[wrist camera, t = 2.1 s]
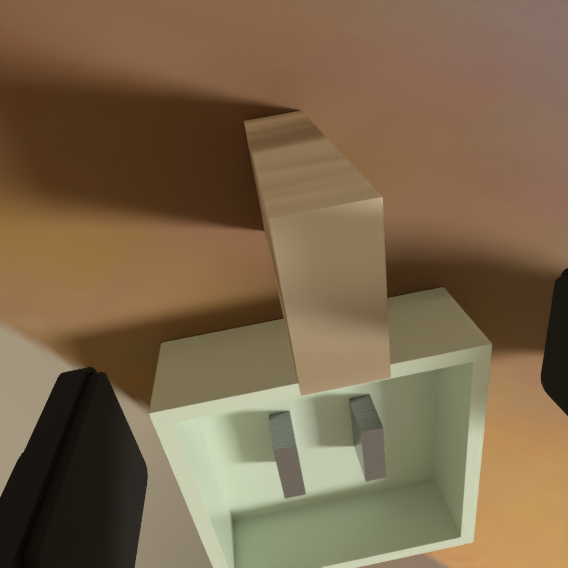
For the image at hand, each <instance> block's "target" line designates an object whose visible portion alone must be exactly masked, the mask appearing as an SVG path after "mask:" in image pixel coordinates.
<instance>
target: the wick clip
mask: <svg viewBox="0 0 568 568" xmlns="http://www.w3.org/2000/svg"><path fill="white" fill-rule="evenodd" d="M349 404H350V413H351V422H352V431H353V440H354V447H355V451H356V454H357V457H358V460H359V463H360V466H361V469H362V472H363V475H364V479H365V482H367V481H372V480H376V479H381V478H386V462H385V446H384V430H383V426H382V423H381V421H380V418H379V416H378V413H377V411H376V408H375V406H374V404H373V401H372V399H371V396H370V394H368V395H363V396H358V397H353V398H349ZM269 422H270V430H271V437H272V445H273V452H274V456H275V460H276V464H277V468H278V472H279V477H280V481H281V485H282V489H283V493H284V497H285V499H286V498H291V497H296V496H300V495H305V494H306V492H305V486H304V481H303V475H302V470H301V465H300V459H299V454H298V449H297V444H296V439H295V435H294V430H293V425H292V420H291V415H290V411H285V412H280V413H275V414H270V415H269Z"/></svg>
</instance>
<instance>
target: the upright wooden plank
mask: <svg viewBox="0 0 568 568" xmlns="http://www.w3.org/2000/svg"><path fill="white" fill-rule="evenodd" d="M244 125H245V130H246V136H247V141H248V146H249V151H250V157H251V162H252V167H253V173H254V178H255V183H256V188H257V194H258V199H259V204H260V210H261V215H262V220H263V226H264V231H265V235H266V240H267V244H268V249H269V253H270V258H271V262H272V267H273V272H274V276H275V281H276V285H277V290H278V294H279V299H280V303H281V308H282V312H283V317H284V321H285V326H286V330H287V335H288V339H289V344H290V348H291V353H292V357H293V362H294V366H295V371H296V375H297V380H298V384H299V389H300V393H301V396H304V395H308V394H313V393H318V392H323V391H328V390H333V389H338V388H343V387H348V386H353V385H358V384H363V383H367V382H372V381H377V380H382V379H387V378H391V368H390V347H389V325H388V303H387V281H386V260H385V238H384V216H383V197H382V196H381V195H380V194H379V193H378V192H377V190H376V189H375V188H374V187H373V186H372V185H371V184H370V183H369V182H368V181H367V180H366V179H365V178H364V177H363V176H362V175H361V174H360V172H359V171H358V170H357V169H356V168H355V167H354V166H353V165H352V164H351V163H350V162H349V161H348V160H347V159H346V158H345V157H344V156H343V155H342V153H341V152H340V151H339V150H338V149H337V148H336V147H335V146H334V145H333V144H332V143H331V142H330V141H329V140H328V139H327V138H326V137H325V135H324V134H323V133H322V132H321V131H320V130H319V129H318V128H317V127H316V126H315V125H314V124H313V123H312V122H311V121H310V120H309V119H308V118H307V116H306V115H305V114H304V113H303V112H302V111H296V112H290V113H285V114H279V115H274V116H268V117H263V118H257V119H252V120H247V121H244Z"/></svg>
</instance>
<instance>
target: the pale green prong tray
mask: <svg viewBox="0 0 568 568" xmlns="http://www.w3.org/2000/svg"><path fill="white" fill-rule="evenodd" d="M387 303H388V325H389V347H390V368H391V378H387V379H382V380H377V381H372V382H367V383H363V384H358V385H353V386H348V387H343V388H338V389H333V390H328V391H323V392H318V393H313V394H308V395H304V396H301V393H300V389H299V384H298V380H297V375H296V371H295V366H294V362H293V357H292V353H291V348H290V344H289V339H288V335H287V330H286V326H285V321H284V319H279V320H274V321H269V322H264V323H259V324H254V325H249V326H244V327H239V328H234V329H228V330H223V331H218V332H213V333H208V334H203V335H198V336H193V337H188V338H183V339H178V340H173V341H168V342H163V343H161V347H160V353H159V358H158V364H157V370H156V375H155V381H154V386H153V392H152V398H151V403H150V409H149V416H150V418H151V420H152V423H153V425H154V428H155V430H156V432H157V435H158V437H159V439H160V442H161V444H162V447H163V449H164V451H165V454H166V456H167V459H168V461H169V463H170V466H171V468H172V470H173V473H174V475H175V478H176V480H177V483H178V485H179V487H180V490H181V492H182V494H183V497H184V499H185V502H186V504H187V506H188V509H189V511H190V514H191V516H192V518H193V521H194V523H195V525H196V528H197V530H198V533H199V535H200V537H201V540H202V542H203V545H204V547H205V549H206V552H207V554H208V557H209V559H210V561H211V564H212V566H213V568H357V567H361V566H366V565H370V564H374V563H380V562H384V561H389V560H394V559H398V558H403V557H407V556H412V555H417V554H421V553H426V552H431V551H435V550H440V549H445V548H449V547H454V546H458V545H463V544H468V543H472V542H473V540H474V530H475V519H476V509H477V499H478V488H479V478H480V467H481V457H482V447H483V436H484V426H485V415H486V405H487V395H488V384H489V374H490V363H491V353H492V343H491V342H490V341H489V339H488V338H487V337H486V336H485V335H484V334H483V332H482V331H481V330H480V329H479V328H478V327H477V325H476V324H475V323H474V322H473V321H472V320H471V318H470V317H469V316H468V315H467V314H466V313H465V311H464V310H463V309H462V308H461V307H460V306H459V304H458V303H457V302H456V301H455V300H454V299H453V297H452V296H451V295H450V294H449V293H448V291H447V290H446V289H445V288H444V287H441V288H436V289H431V290H425V291H420V292H415V293H410V294H405V295H400V296H395V297H390V298H387ZM368 394H370V396H371V399H372V401H373V404H374V406H375V408H376V411H377V413H378V416H379V418H380V421H381V423H382V426H383V430H384V446H385V462H386V478H381V479H376V480H372V481H367V482H365V479H364V475H363V472H362V469H361V466H360V463H359V460H358V457H357V454H356V451H355V447H354V440H353V431H352V422H351V413H350V404H349V398H353V397H358V396H363V395H368ZM285 411H290V415H291V420H292V425H293V430H294V435H295V439H296V444H297V449H298V454H299V459H300V465H301V470H302V475H303V481H304V486H305V492H306V494H305V495H300V496H296V497H291V498H286V499H285V497H284V493H283V489H282V485H281V481H280V477H279V472H278V468H277V464H276V460H275V456H274V452H273V445H272V437H271V430H270V422H269V415H270V414H275V413H280V412H285Z"/></svg>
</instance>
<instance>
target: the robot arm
mask: <svg viewBox="0 0 568 568" xmlns="http://www.w3.org/2000/svg"><path fill="white" fill-rule="evenodd" d="M541 383H542V386H543V388H544V390H545V392H546V393H547V394H548V395H549V396H550V397H551V399H552V400H553V401H554V402H555V403H556V404H557V405H558V406H559V407H560V408H561V409H562V410H563V411H564V412H565V413H566V415H567V416H568V268H567V269H565V270H564V271H563V272H562V274H561V277H559V278H557V280H556V281H555V285H554V291H553V298H552V305H551V311H550V318H549V325H548V331H547V338H546V344H545V351H544V358H543V364H542V371H541ZM147 478H148V476H147V467H146V463H145V461H144V459H143V456H142V454H141V452H140V449H139V447H138V445H137V443H136V440H135V438H134V436H133V434H132V431H131V429H130V427H129V425H128V422H127V420H126V418H125V416H124V413H123V411H122V409H121V407H120V404H119V402H118V400H117V397H116V395H115V393H114V391H113V388H112V386H111V384H110V382H109V379H108V377H107V375H106V374H105V373H104V372H99V373H97V372H96V370H95V369H94V368H92V367H88V368H83V369H78V370H73V371H68V372H63V373H61V374H60V375H59V377H58V378H57V381H56V383H55V385H54V387H53V389H52V392H51V394H50V396H49V398H48V400H47V402H46V405H45V407H44V409H43V411H42V414H41V416H40V418H39V420H38V422H37V424H36V427H35V429H34V431H33V433H32V435H31V438H30V440H29V442H28V444H27V446H26V448H25V451H24V452H23V453H22V454H21V456H20V457H19V459H18V461H17V463H16V465H15V467H14V469H13V471H12V473H11V476H10V478H9V480H8V482H7V484H6V486H5V489H4V491H3V493H2V495H1V497H0V568H135V560H136V554H137V548H138V547H137V546H138V541H139V534H140V527H141V521H142V513H143V507H144V501H145V494H146V487H147Z"/></svg>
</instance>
